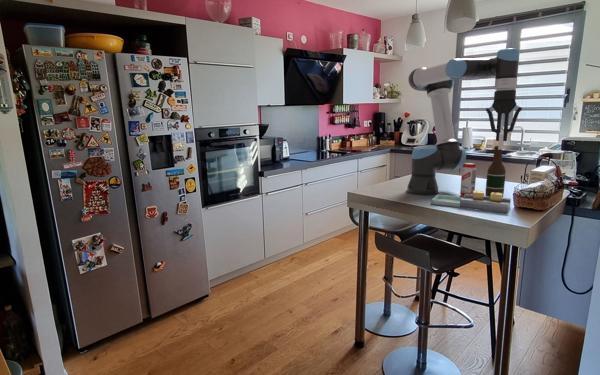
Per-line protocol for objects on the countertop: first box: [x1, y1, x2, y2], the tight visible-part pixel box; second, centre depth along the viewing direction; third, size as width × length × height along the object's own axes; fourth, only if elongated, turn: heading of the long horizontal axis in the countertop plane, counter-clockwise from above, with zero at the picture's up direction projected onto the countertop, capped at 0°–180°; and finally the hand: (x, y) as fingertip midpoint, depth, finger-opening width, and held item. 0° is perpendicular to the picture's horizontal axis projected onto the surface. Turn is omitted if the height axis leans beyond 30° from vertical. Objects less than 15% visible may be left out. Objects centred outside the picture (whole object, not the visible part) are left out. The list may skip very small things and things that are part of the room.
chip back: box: [472, 190, 485, 201], centre depth 156 cm, size 4×4×4 cm
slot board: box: [460, 194, 512, 214], centre depth 155 cm, size 18×11×4 cm, turn 56°
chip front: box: [490, 192, 504, 203], centre depth 152 cm, size 4×4×4 cm
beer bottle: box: [484, 145, 507, 198], centre depth 169 cm, size 8×8×24 cm
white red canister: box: [459, 161, 477, 197], centre depth 172 cm, size 6×6×16 cm
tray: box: [430, 193, 464, 209], centre depth 163 cm, size 12×12×2 cm
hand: (500, 149), depth 148 cm, fingers closed
